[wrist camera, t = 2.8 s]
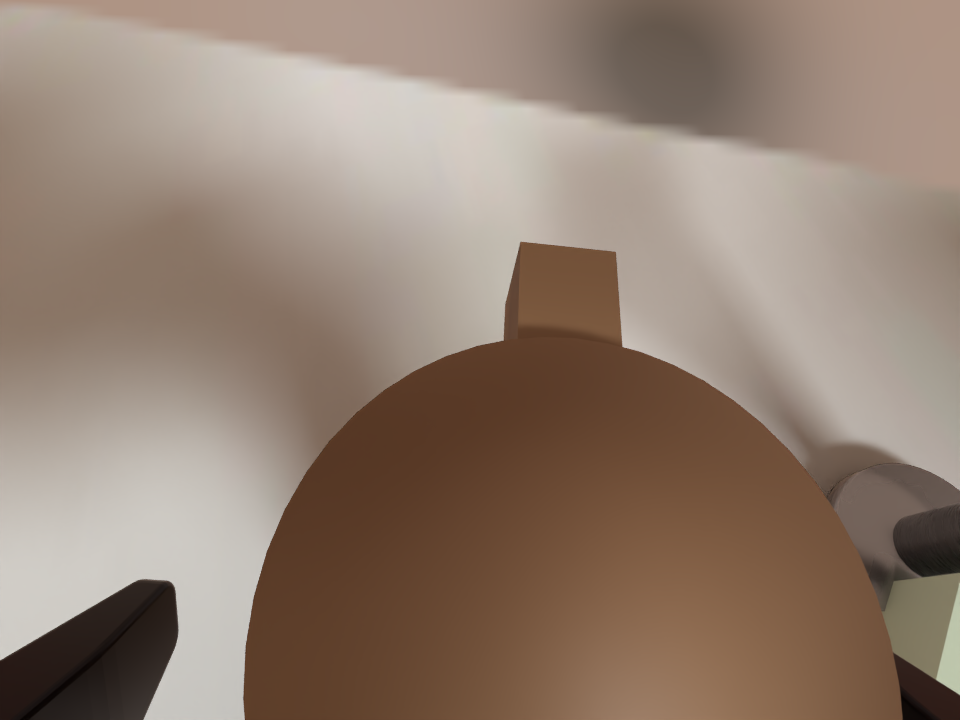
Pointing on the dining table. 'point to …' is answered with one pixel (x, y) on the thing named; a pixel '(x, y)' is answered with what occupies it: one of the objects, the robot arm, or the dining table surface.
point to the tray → (927, 625)
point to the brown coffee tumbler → (562, 544)
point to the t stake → (900, 523)
